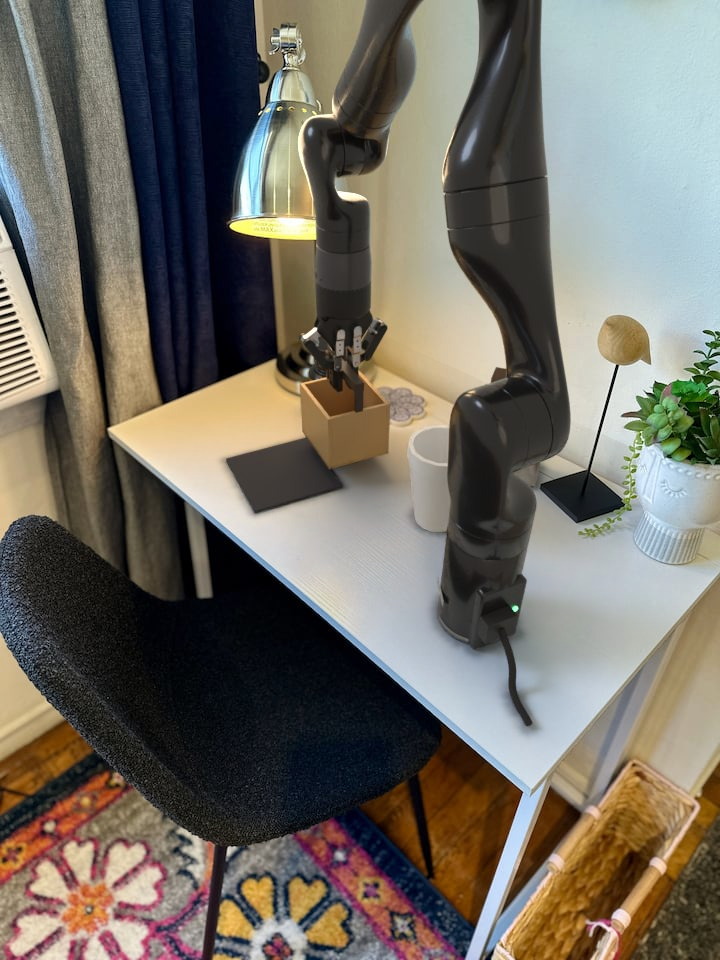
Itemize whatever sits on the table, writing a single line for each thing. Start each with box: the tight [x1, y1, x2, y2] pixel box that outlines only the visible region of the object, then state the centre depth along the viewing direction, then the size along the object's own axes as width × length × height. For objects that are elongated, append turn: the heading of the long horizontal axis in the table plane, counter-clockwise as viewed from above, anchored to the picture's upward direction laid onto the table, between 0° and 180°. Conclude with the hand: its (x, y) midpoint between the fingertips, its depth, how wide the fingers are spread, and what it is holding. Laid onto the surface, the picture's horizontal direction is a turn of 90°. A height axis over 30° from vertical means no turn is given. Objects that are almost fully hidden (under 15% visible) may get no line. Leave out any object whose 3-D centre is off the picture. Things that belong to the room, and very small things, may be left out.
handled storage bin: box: [299, 350, 391, 470], centre depth 109 cm, size 11×10×14 cm
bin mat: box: [225, 436, 343, 514], centre depth 112 cm, size 14×14×1 cm
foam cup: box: [406, 424, 450, 533], centre depth 100 cm, size 10×9×13 cm
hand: (344, 387), depth 107 cm, fingers closed on handled storage bin, 1 cm apart
